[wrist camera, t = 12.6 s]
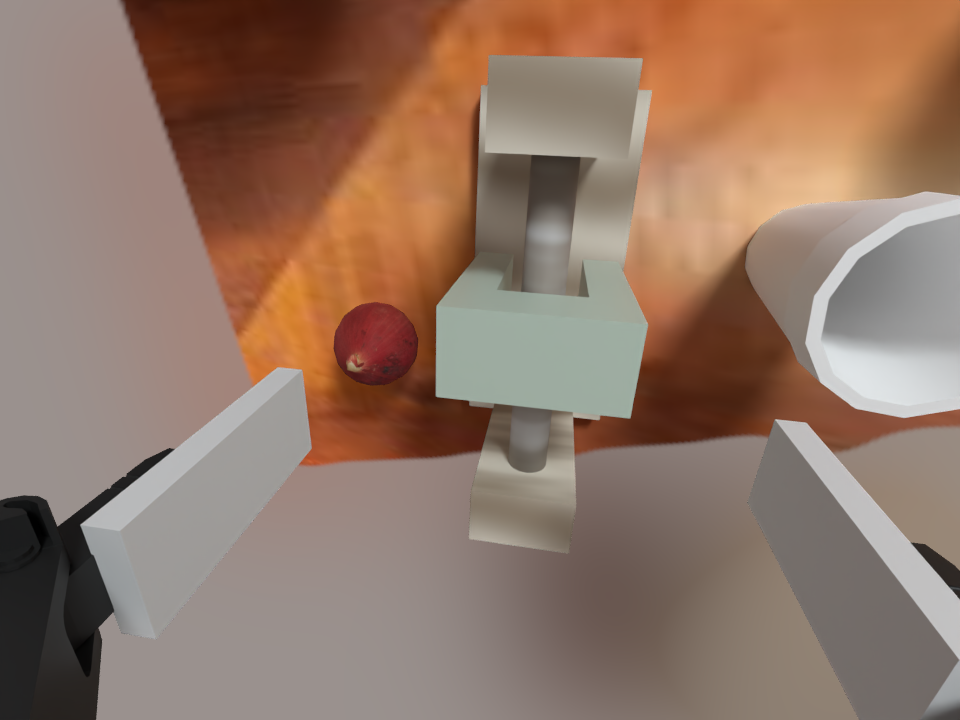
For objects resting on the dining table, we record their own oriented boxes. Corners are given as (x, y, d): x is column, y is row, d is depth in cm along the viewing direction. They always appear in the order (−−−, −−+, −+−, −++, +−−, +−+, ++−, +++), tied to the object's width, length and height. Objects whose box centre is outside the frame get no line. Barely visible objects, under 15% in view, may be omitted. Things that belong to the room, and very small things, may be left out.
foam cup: (776, 153, 30) (914, 156, 18) (914, 212, 30) (1140, 254, 18) (693, 292, 34) (761, 368, 22) (815, 344, 34) (948, 447, 22)
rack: (484, 88, 31) (416, 35, 17) (648, 93, 30) (728, 41, 15) (472, 396, 40) (420, 539, 25) (598, 410, 39) (619, 568, 24)
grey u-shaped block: (480, 251, 29) (436, 306, 19) (618, 261, 28) (648, 324, 18) (477, 316, 31) (435, 396, 21) (608, 327, 30) (630, 418, 20)
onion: (442, 319, 38) (413, 360, 30) (406, 374, 40) (372, 424, 33) (377, 276, 37) (332, 307, 30) (345, 334, 40) (296, 376, 32)
